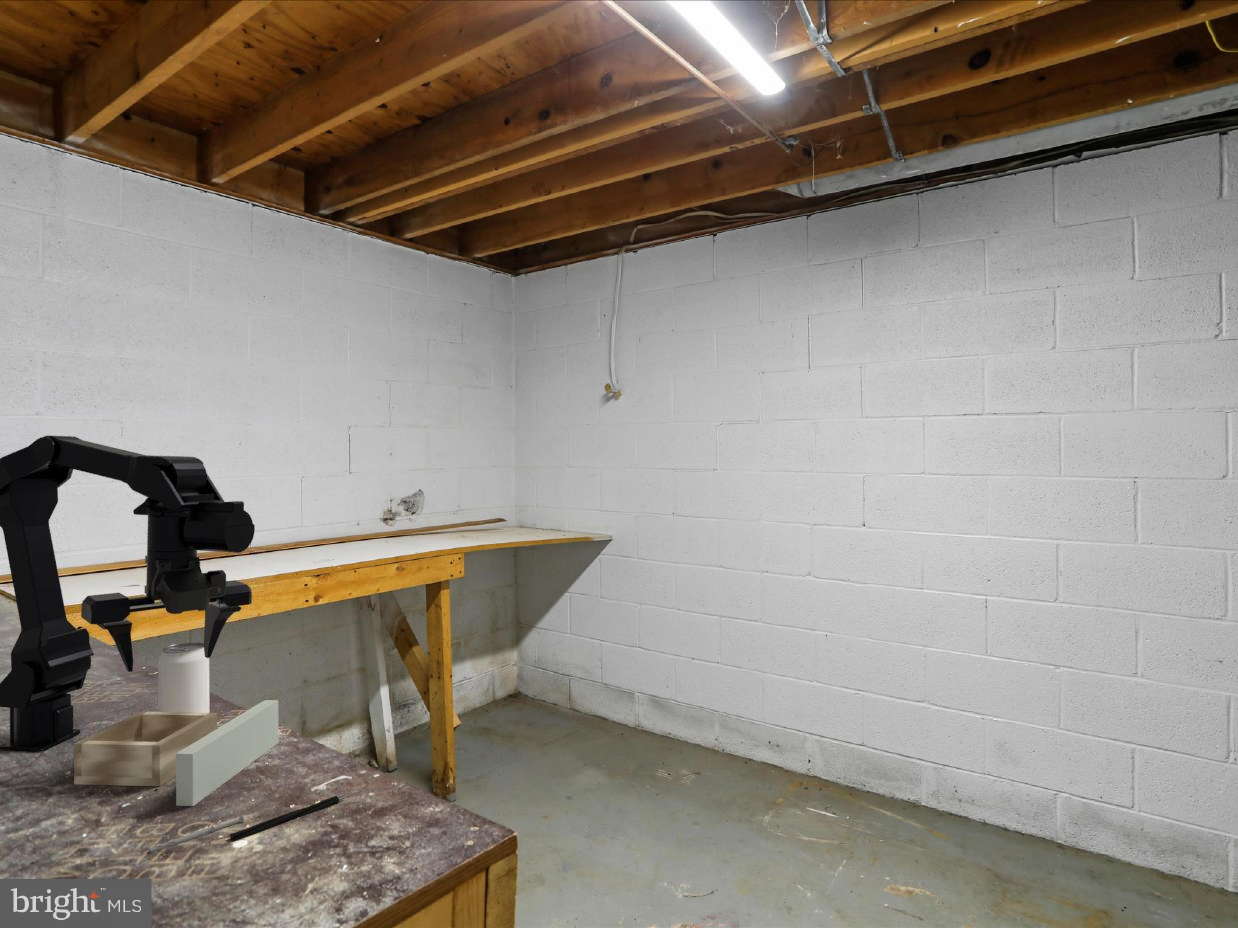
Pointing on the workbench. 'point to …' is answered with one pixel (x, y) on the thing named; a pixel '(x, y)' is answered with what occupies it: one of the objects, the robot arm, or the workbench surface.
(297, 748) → the workbench surface
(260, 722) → the panel
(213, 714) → the wooden drawer box
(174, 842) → the grey thin rod
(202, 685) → the can
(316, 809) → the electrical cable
